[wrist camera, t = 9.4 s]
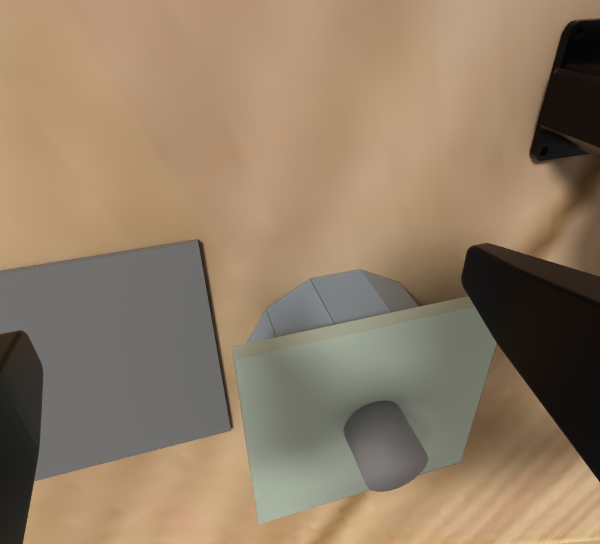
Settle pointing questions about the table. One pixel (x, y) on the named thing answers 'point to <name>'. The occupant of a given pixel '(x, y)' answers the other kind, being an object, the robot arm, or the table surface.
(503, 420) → the table surface
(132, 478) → the table surface
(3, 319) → the mat
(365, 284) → the bowl
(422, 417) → the lid
